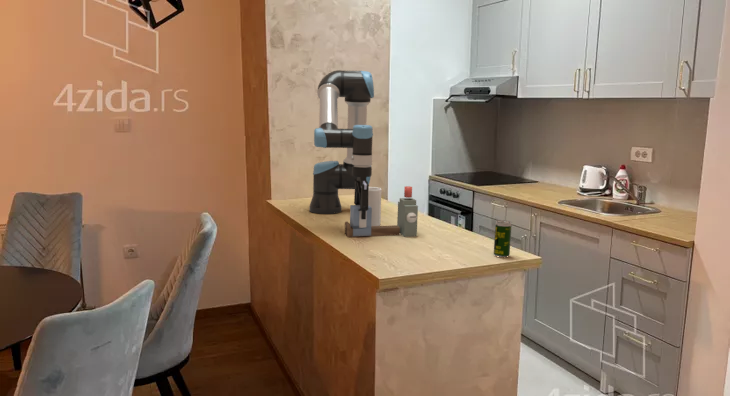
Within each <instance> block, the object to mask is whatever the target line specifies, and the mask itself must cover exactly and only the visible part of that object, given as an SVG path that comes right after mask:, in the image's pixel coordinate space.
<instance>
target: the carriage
mask: <svg viewBox="0 0 730 396" xmlns="http://www.w3.org/2000/svg"><path fill="white" fill-rule="evenodd" d="M349 209H350V210H349V211H350V212H349V213H350V214H349V224H350V227H352V228H353V236H357V237H372V236H371V220H372V208H371V207H370V206H369V205H368V210H367V220H366V227H364V228H359V211H358V209H360V205H355V204H351V205H350V206H349Z"/></svg>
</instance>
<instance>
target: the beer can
mask: <svg viewBox="0 0 730 396" xmlns="http://www.w3.org/2000/svg"><path fill="white" fill-rule="evenodd" d="M494 225H495V226H494V240H493V242H494V243H493V255H495V256H499V257H507V256H509V257H510V253H511V241H512V240H511V239H512V236H511V235H512V222H511V221H510V220H504V219H503V220H501V219H500V220H496V221H495V224H494ZM495 256H494V257H495ZM499 257H498V258H499ZM507 258H508V257H507Z"/></svg>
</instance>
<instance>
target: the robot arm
mask: <svg viewBox="0 0 730 396" xmlns="http://www.w3.org/2000/svg"><path fill="white" fill-rule="evenodd" d="M374 88H375V87H374V79H373V75H372V72H370V71H366V70H342V69H339V70H338V69H337V70H333V71H330V72H329V73H327V74H326V75H325V76H323V78H321V80H320V81H319V84H318V86H317V90H316V91H317V92H316V93H317V97H318V99H319V113H318V114H319V115H318V117H319V118H318V119H319V120H318V123H319V124H318V126H319V127H318V128H317V127H316V128H315V129H313V135H314V136H313V141H314V142H313V143H314V146H315V147H316V148H323V149H327V148H328V149H330V148H333V149H334V148H335V149H336V148H337V149H341V148H342V149H346V157H344V159H343V163H340V161H338V160H327V161H321V162H317V163H315V164H314V165H313V171H312V172H313V173H312V175H313V180H312V181H313V184H312V185H313V187H312V189H313V190H312V191H313V192H312V198H311V200H310V202H309V203H310V204H309V207H308V208H309V212H311V213H314V214H319V215H322V214H323V215H328V214H329V215H331V214H339V213H342V208H343V207H342V204H341V200H340V197H339V190H354V194H353V195H354V199H353V200H354V201H353V205H360V209H358V211H359V228H364V227H366V220H367V210H368V189H369V187H370V183H371V177H372V175H373V174H372V172H373V171H372V170H373V168H372V165H373V139H374V138H373V136H374V133H373V126H372V125H369V124H367V117H368V116H367V115H368V105H369V104H370V103H371V99H373V98H374V97H375V89H374ZM339 98H344V102H345V103H346V104H347V128H339V117H338V116H339V114H338V112H339V111H338V99H339Z"/></svg>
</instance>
